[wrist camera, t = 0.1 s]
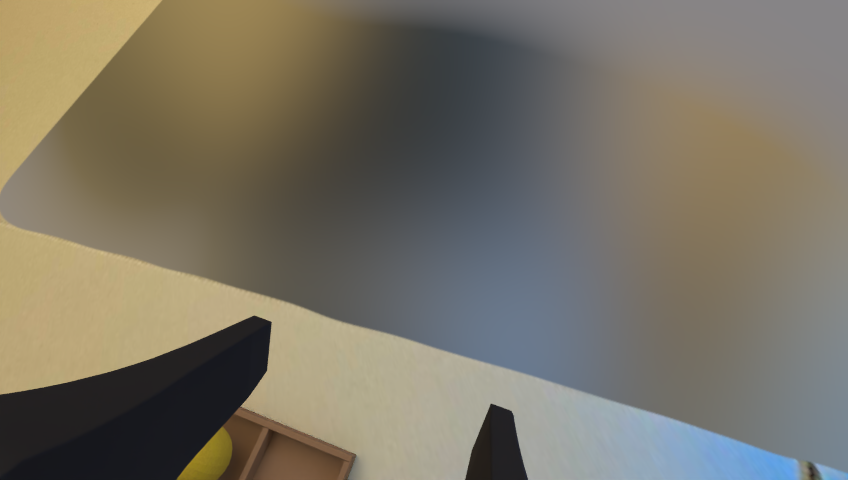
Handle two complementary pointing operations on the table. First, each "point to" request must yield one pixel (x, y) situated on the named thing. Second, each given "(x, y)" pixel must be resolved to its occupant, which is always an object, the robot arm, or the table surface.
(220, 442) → the lemon
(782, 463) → the table surface
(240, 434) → the divided wooden tray
